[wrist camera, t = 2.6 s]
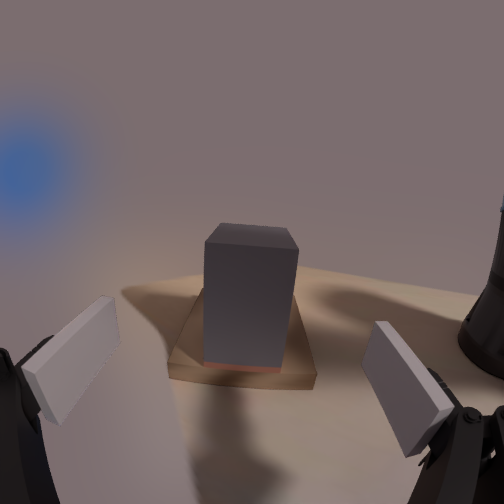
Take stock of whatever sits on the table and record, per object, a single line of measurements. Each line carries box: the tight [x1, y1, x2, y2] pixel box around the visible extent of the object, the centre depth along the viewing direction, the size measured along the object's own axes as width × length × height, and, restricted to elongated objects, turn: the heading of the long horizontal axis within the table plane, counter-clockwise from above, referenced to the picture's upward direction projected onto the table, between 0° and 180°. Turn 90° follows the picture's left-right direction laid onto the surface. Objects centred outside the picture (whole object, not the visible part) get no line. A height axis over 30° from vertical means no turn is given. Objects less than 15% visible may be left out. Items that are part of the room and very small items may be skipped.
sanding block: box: [203, 223, 299, 373], centre depth 22 cm, size 6×8×10 cm
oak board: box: [167, 288, 317, 390], centre depth 28 cm, size 12×16×2 cm
